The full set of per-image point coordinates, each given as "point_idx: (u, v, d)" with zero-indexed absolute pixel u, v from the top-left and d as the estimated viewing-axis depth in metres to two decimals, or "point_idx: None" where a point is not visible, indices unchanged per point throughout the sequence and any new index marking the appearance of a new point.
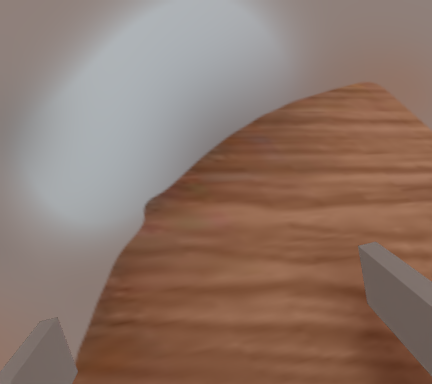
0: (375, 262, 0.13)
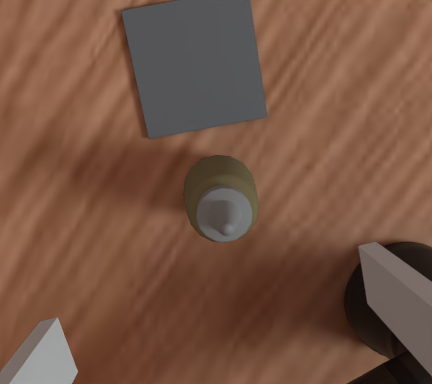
0: (375, 262, 0.13)
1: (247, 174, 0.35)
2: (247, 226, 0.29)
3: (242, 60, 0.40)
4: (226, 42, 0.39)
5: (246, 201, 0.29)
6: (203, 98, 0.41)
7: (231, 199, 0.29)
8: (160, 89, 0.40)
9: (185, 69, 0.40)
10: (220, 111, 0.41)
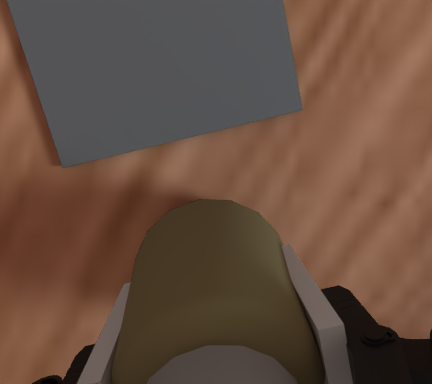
0: None
1: (277, 256, 0.14)
2: None
3: None
4: None
5: None
6: (168, 79, 0.19)
7: None
8: (76, 64, 0.19)
9: (126, 17, 0.19)
10: (206, 103, 0.20)
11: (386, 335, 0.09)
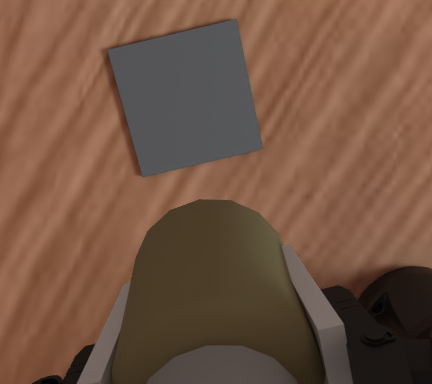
0: None
1: (277, 256, 0.14)
2: None
3: (234, 93, 0.39)
4: (217, 76, 0.38)
5: None
6: (196, 134, 0.40)
7: None
8: (151, 127, 0.39)
9: (176, 105, 0.39)
10: (214, 145, 0.40)
11: (386, 335, 0.09)
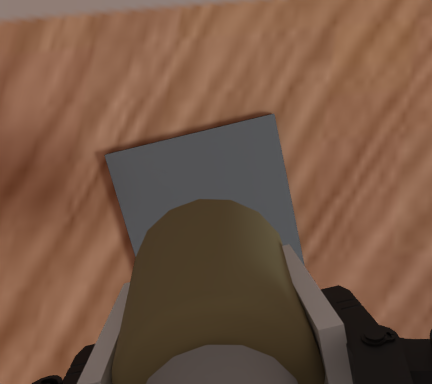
0: None
1: (277, 255, 0.14)
2: None
3: (270, 205, 0.30)
4: (247, 185, 0.29)
5: None
6: None
7: None
8: None
9: None
10: None
11: (386, 335, 0.09)
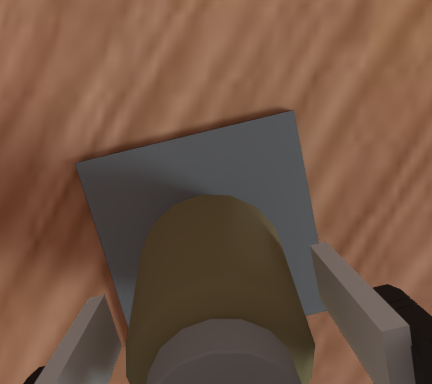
0: (320, 260, 0.14)
1: (272, 245, 0.15)
2: None
3: (287, 227, 0.23)
4: (259, 201, 0.23)
5: None
6: None
7: None
8: None
9: None
10: None
11: None
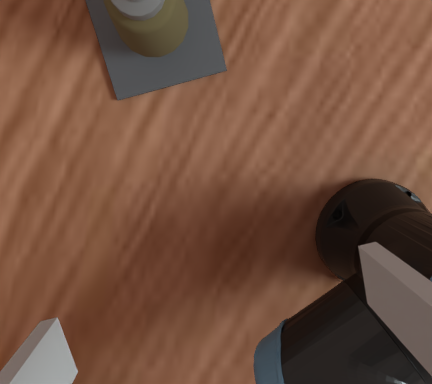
0: (375, 262, 0.13)
1: None
2: None
3: (198, 17, 0.42)
4: None
5: None
6: (164, 57, 0.43)
7: None
8: (123, 51, 0.43)
9: None
10: (182, 68, 0.43)
11: None
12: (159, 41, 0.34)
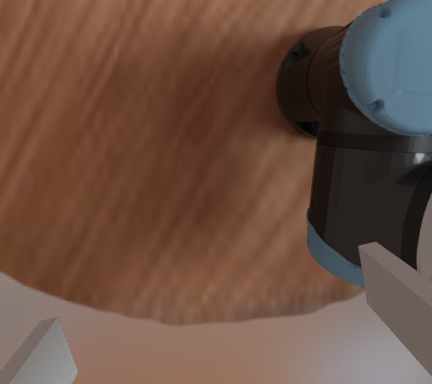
0: (375, 262, 0.13)
1: None
2: None
3: None
4: None
5: None
6: None
7: None
8: None
9: None
10: None
11: None
12: None
